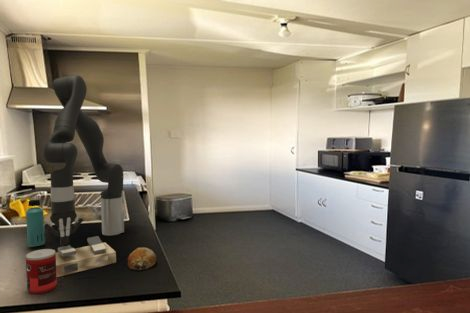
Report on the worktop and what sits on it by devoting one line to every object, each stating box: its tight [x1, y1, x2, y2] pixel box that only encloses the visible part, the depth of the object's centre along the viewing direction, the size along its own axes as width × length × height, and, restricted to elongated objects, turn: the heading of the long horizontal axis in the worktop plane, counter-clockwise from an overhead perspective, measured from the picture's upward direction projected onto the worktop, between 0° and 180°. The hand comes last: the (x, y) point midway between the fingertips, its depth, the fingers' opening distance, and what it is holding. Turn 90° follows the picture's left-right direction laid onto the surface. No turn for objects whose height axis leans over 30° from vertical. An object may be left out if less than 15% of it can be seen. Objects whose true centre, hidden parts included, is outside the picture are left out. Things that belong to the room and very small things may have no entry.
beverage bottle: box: [25, 199, 46, 247], centre depth 132 cm, size 6×7×20 cm
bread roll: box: [127, 247, 157, 271], centre depth 116 cm, size 10×10×8 cm
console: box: [55, 242, 117, 278], centre depth 116 cm, size 20×13×4 cm, turn 128°
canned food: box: [25, 248, 58, 295], centre depth 98 cm, size 8×8×11 cm
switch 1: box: [57, 244, 76, 257], centre depth 113 cm, size 4×10×2 cm, turn 38°
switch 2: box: [86, 235, 106, 254], centre depth 119 cm, size 4×10×2 cm, turn 38°
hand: (64, 245), depth 116 cm, fingers closed
